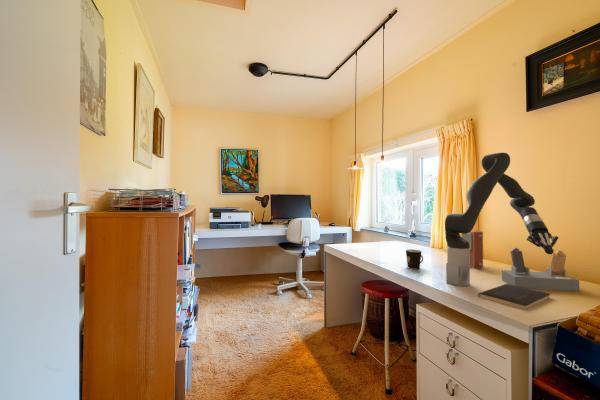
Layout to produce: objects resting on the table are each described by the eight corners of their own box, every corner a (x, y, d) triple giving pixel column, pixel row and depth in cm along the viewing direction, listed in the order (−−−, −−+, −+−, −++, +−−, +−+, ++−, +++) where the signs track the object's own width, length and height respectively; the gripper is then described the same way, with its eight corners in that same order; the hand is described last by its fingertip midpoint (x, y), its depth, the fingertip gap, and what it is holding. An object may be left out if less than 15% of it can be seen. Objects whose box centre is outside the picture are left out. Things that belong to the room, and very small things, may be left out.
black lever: (516, 272, 127) (511, 247, 131) (513, 272, 129) (509, 248, 133) (526, 272, 126) (521, 247, 130) (523, 273, 128) (518, 248, 132)
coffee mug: (404, 265, 166) (404, 249, 166) (419, 266, 164) (419, 249, 164) (408, 270, 154) (408, 252, 154) (424, 271, 152) (424, 253, 152)
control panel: (470, 263, 171) (485, 269, 156) (458, 263, 171) (473, 269, 156) (469, 229, 171) (485, 231, 156) (458, 229, 171) (473, 231, 156)
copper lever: (552, 275, 123) (556, 251, 121) (549, 272, 126) (553, 249, 123) (563, 276, 122) (567, 252, 120) (559, 273, 125) (563, 249, 122)
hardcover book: (550, 299, 110) (550, 293, 110) (525, 311, 98) (525, 305, 98) (504, 288, 124) (504, 283, 124) (478, 297, 112) (478, 292, 112)
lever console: (515, 287, 123) (514, 269, 123) (501, 280, 134) (501, 263, 134) (579, 291, 117) (579, 272, 117) (560, 283, 129) (559, 266, 129)
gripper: (522, 220, 139) (537, 248, 127) (553, 220, 136) (571, 249, 124) (517, 229, 144) (530, 257, 132) (546, 229, 141) (563, 258, 129)
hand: (550, 253), depth 128 cm, fingers closed
